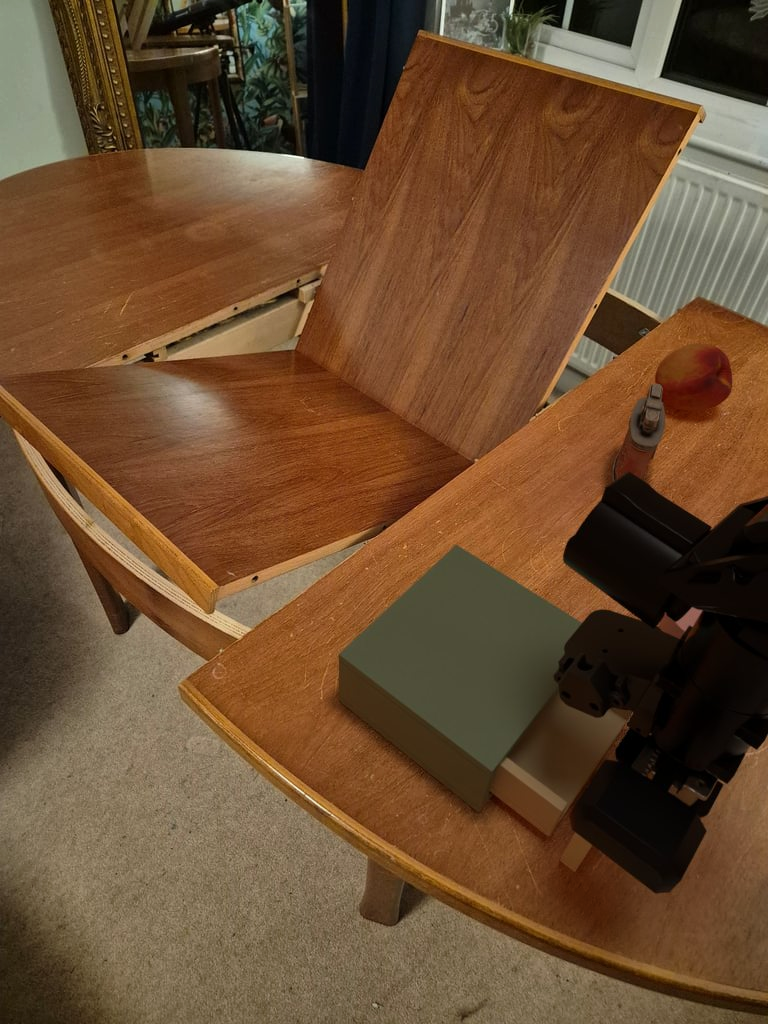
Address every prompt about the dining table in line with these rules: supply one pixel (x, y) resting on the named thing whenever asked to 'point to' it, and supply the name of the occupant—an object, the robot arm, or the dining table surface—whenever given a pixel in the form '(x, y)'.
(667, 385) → the fruit
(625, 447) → the brown elongated piece
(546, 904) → the dining table surface
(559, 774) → the drawer
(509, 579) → the cabinet
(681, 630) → the red cylinder
